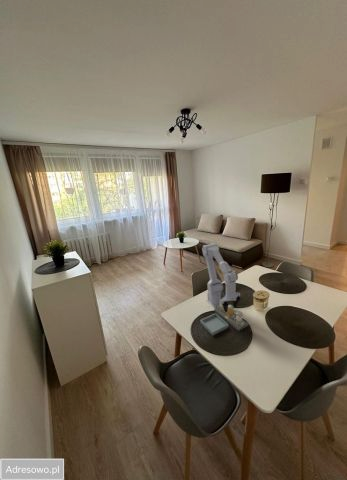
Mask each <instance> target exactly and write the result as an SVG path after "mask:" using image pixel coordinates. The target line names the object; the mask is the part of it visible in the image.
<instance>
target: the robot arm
mask: <svg viewBox="0 0 347 480" xmlns="http://www.w3.org/2000/svg"><path fill="white" fill-rule="evenodd" d="M201 250H202V255H203V258H205V262H206V267H207V273H208V275H209V281H208V282H207V294H206V296H207V300H206V302H207V303H209V304H210V305H211V306H212V307H213V308H216V307H218V305H220V302H221V303H222V305H223V308H224V311H225V312H227V311H228V305H230V304H229V303H228V302H230V301H232V305H233V308H236V309H237V306H238V304H239V302H240V301H241V293H240V292H238V291H237V292H236V286H237V284H236V283H237V282H236V281H238V280H239V279H238V278H239V275H238V273H237V271H235V270H234V269H232V268H231V266H230V264H229V263H228V262H227V261H225V260H224V259H223V256H222V254H221V253H220V248H219V245H218V244H217V242H214V243H210V244H203V245H202V248H201ZM214 259H215V261H216V262H217V263H218V268H219V269H220V271H221V272H222V275H223V279H224V283H225V295H224V296H223V297H221V295H222V294H221V293H222V292H223V290H224V285H223V283H222V280H220V279H218V277H217V270H216V266H215V262H214ZM220 299H221V300H220Z"/></svg>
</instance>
